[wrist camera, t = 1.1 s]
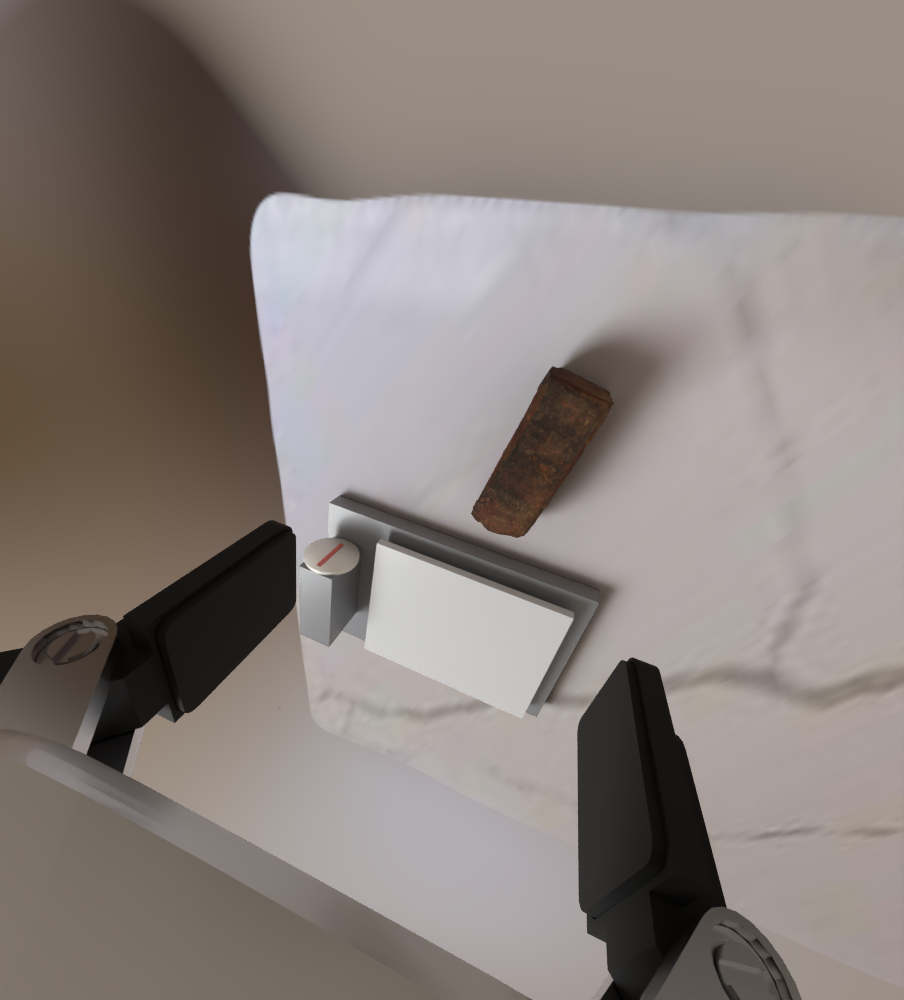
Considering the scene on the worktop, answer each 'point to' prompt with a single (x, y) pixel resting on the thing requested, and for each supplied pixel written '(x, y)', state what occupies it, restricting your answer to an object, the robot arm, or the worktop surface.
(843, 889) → the worktop surface
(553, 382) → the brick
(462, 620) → the scale
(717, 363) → the worktop surface
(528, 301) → the worktop surface
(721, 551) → the worktop surface
